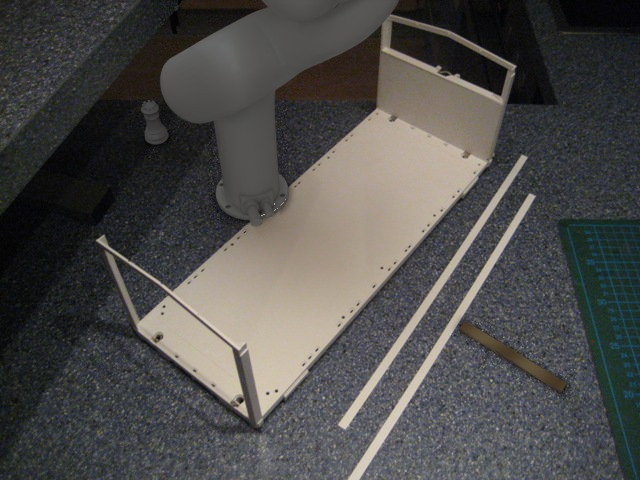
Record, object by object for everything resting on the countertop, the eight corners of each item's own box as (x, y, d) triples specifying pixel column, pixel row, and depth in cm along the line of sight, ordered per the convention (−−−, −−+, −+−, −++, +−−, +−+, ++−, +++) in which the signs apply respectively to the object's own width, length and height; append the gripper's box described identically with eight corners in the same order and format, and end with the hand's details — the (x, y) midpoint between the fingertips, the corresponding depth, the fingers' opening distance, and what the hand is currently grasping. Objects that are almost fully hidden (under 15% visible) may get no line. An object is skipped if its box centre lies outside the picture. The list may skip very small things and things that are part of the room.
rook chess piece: (166, 146, 117) (158, 112, 111) (143, 145, 117) (133, 111, 111) (171, 131, 120) (163, 96, 114) (148, 130, 120) (139, 96, 114)
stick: (565, 385, 86) (567, 383, 85) (560, 393, 85) (561, 391, 84) (464, 322, 92) (465, 320, 92) (458, 330, 91) (459, 327, 91)
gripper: (57, -54, 85) (92, 56, 98) (182, -71, 89) (201, 37, 102) (55, -75, 90) (89, 32, 103) (174, -91, 94) (192, 15, 106)
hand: (144, 35), depth 102 cm, fingers open, 9 cm apart
